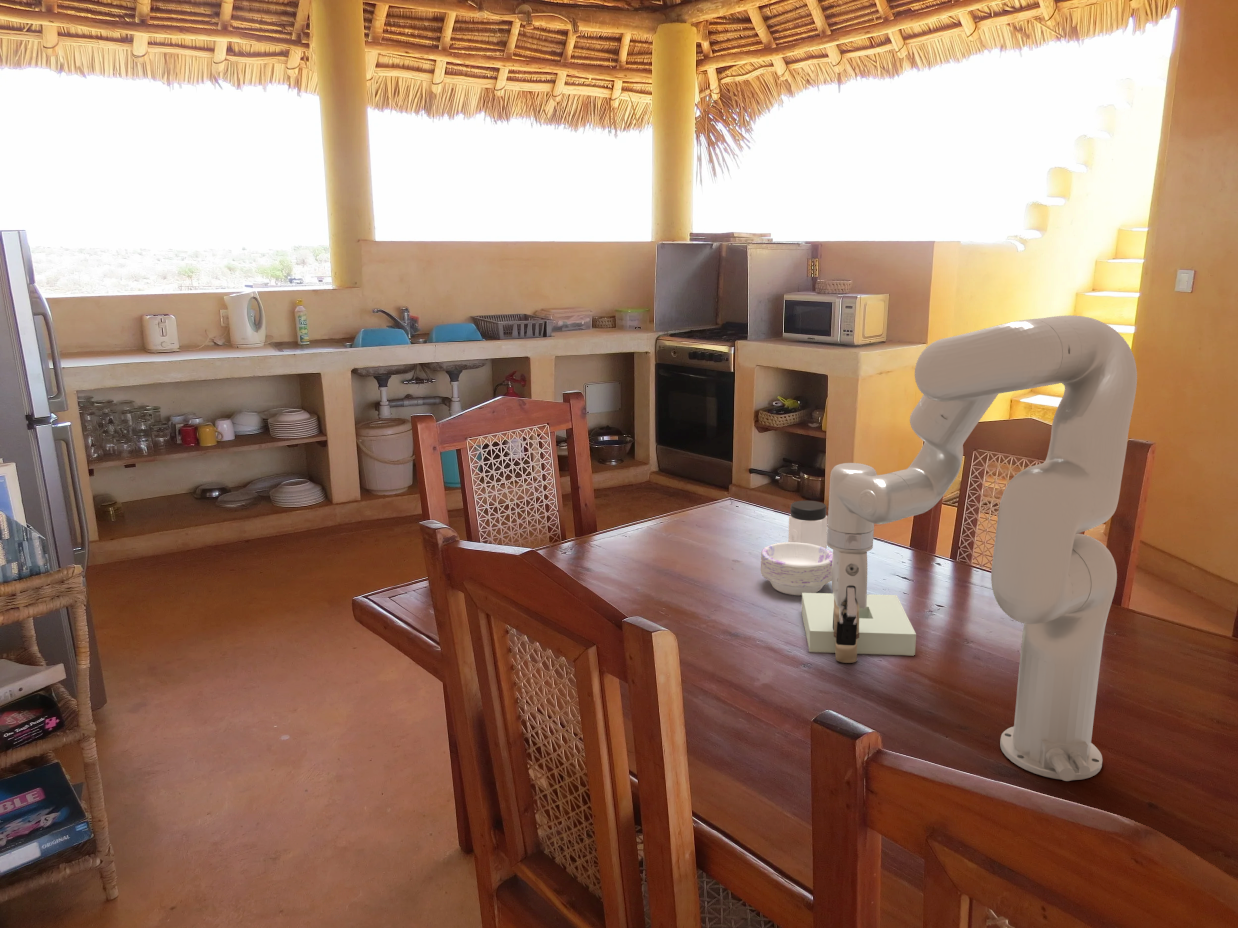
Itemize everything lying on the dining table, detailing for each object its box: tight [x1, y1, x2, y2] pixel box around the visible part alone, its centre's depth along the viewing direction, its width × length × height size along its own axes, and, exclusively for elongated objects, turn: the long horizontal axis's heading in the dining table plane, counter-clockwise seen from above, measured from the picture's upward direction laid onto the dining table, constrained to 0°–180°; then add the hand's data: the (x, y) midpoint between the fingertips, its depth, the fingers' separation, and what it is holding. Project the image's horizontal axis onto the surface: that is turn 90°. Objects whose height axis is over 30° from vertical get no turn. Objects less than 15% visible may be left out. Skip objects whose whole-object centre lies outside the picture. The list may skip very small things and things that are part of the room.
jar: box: [787, 500, 828, 549], centre depth 200 cm, size 9×8×12 cm
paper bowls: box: [760, 541, 833, 597], centre depth 180 cm, size 15×15×8 cm
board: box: [801, 592, 917, 657], centre depth 158 cm, size 18×18×4 cm
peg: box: [834, 598, 859, 664], centre depth 146 cm, size 4×4×12 cm
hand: (843, 636), depth 147 cm, fingers closed on peg, 4 cm apart
